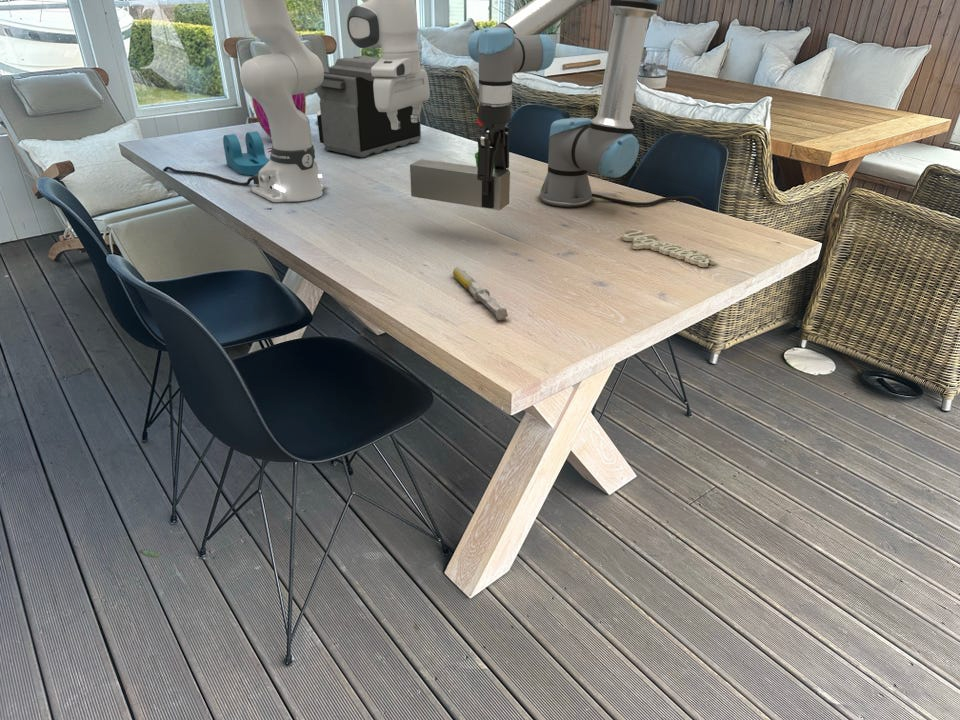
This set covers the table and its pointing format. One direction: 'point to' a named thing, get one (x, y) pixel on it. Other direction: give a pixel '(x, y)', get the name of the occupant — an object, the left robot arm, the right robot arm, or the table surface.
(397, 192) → the table surface
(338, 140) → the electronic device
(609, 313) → the table surface
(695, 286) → the table surface
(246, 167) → the camera mount
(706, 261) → the decorative sign
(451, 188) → the bar
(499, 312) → the syringe
